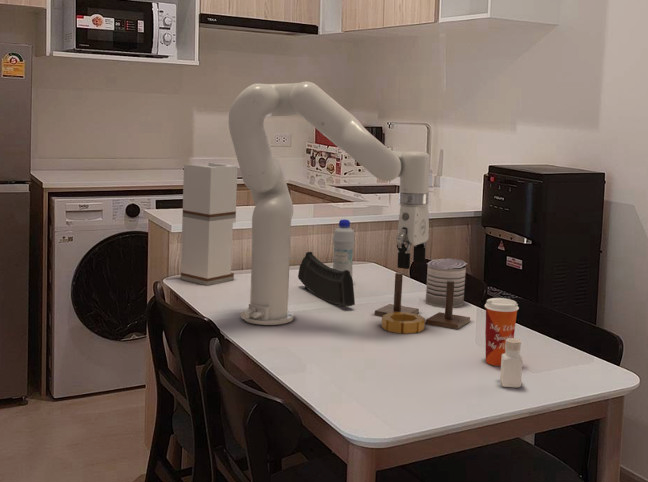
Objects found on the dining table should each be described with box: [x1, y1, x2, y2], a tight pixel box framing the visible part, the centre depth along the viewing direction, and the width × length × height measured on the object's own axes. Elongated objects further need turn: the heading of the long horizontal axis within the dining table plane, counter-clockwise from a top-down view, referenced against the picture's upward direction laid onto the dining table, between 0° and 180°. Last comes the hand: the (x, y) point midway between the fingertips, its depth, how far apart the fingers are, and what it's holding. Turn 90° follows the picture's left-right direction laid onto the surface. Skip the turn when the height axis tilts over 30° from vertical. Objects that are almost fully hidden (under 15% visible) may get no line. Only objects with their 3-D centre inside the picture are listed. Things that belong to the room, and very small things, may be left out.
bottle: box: [332, 218, 356, 278], centre depth 255 cm, size 7×7×20 cm
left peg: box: [374, 272, 420, 317], centre depth 222 cm, size 9×9×11 cm
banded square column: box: [180, 162, 238, 286], centre depth 249 cm, size 11×11×35 cm
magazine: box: [297, 251, 356, 307], centre depth 235 cm, size 17×3×30 cm
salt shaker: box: [499, 337, 524, 388], centre depth 171 cm, size 4×4×10 cm
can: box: [425, 258, 468, 308], centre depth 238 cm, size 11×11×12 cm
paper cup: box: [484, 297, 520, 367], centre depth 186 cm, size 8×8×14 cm
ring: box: [381, 312, 426, 334], centre depth 210 cm, size 10×10×3 cm
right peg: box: [425, 280, 471, 330], centre depth 216 cm, size 9×9×11 cm
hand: (411, 265), depth 213 cm, fingers open, 9 cm apart
